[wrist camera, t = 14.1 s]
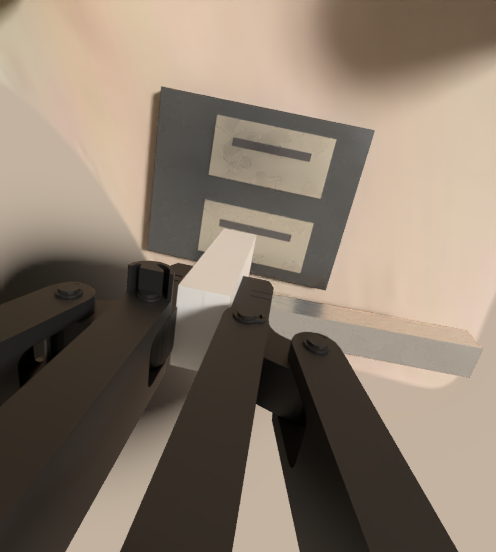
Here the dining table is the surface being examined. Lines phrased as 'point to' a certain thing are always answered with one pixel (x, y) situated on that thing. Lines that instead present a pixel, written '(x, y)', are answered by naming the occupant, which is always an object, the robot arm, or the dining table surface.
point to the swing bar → (379, 335)
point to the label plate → (254, 183)
